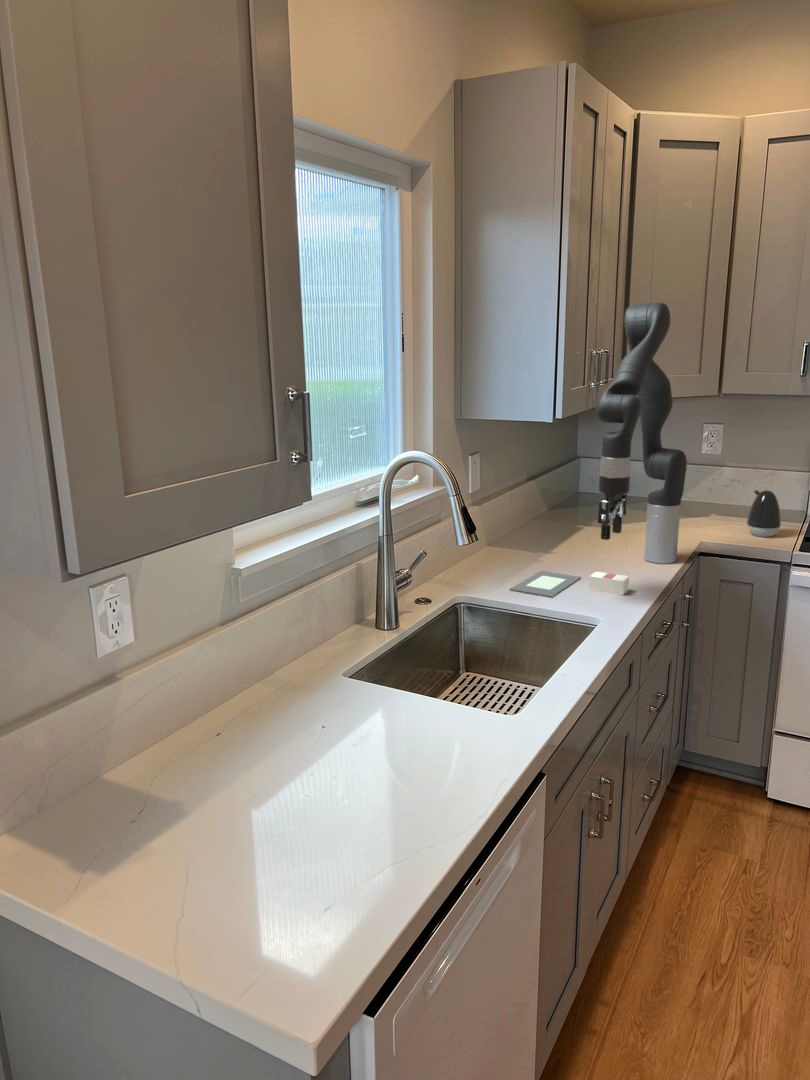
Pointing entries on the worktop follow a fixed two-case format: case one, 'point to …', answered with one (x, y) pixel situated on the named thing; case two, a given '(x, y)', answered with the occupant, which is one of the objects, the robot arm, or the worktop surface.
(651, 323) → the robot arm
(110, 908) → the worktop surface
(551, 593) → the mat
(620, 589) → the card deck
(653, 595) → the worktop surface
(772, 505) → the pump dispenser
